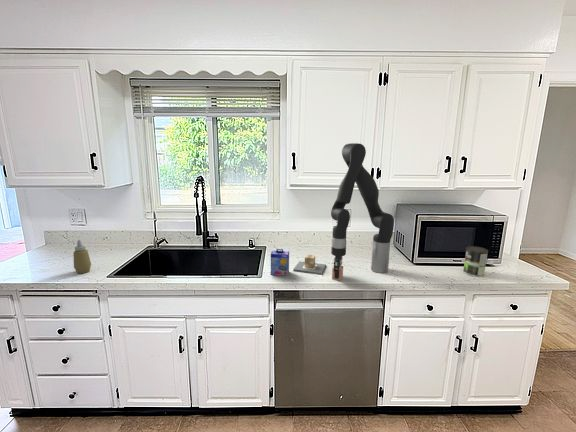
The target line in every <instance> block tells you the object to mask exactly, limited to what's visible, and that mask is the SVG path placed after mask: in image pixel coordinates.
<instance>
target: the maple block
mask: <svg viewBox="0 0 576 432" xmlns="http://www.w3.org/2000/svg"><path fill="white" fill-rule="evenodd" d="M304 262H305V268H312V269H313V268H314V267H315V263H316V254H314V255H313V254H306V255H305V256H304Z"/></svg>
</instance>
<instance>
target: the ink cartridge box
mask: <svg viewBox="0 0 576 432" xmlns="http://www.w3.org/2000/svg"><path fill="white" fill-rule="evenodd" d="M289 273H290V251H287V250H284V249H283V248H282V249H281V248H276V250H271V251H270V275H273V276H289Z"/></svg>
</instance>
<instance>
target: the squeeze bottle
mask: <svg viewBox="0 0 576 432" xmlns="http://www.w3.org/2000/svg"><path fill="white" fill-rule="evenodd" d="M91 268H92V263H91V258H90V253H89V250H88V249H86V246H85V245H83V244H82V240H80V239H78V240H77V244H76V246H75V247H74V251H73V269H74V270H75V272H76V273H77V274H79V275H80V274H86V273H88V272H90V271H91Z"/></svg>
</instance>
